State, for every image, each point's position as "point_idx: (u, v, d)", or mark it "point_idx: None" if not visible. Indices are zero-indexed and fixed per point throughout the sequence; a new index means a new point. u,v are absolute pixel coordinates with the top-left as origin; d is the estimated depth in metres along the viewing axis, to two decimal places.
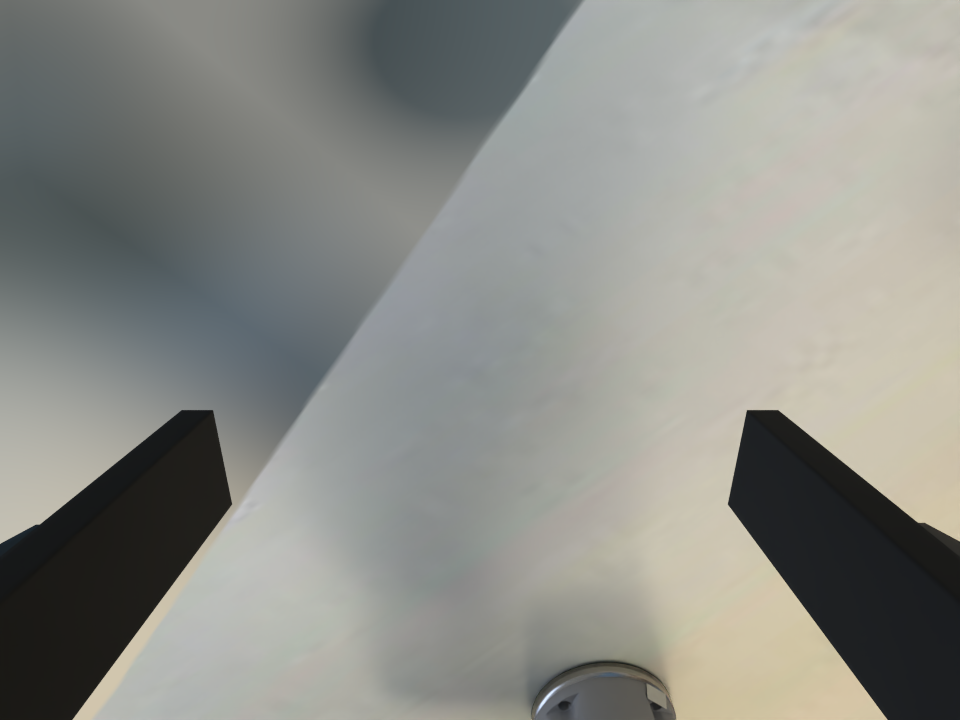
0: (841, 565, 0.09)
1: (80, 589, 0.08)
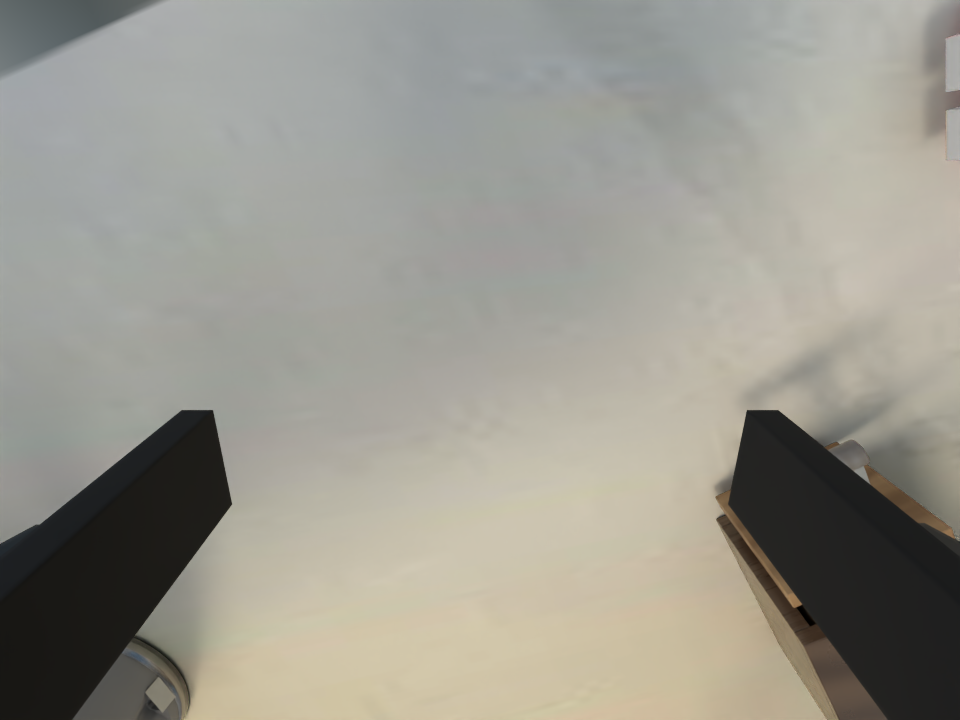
0: (841, 564, 0.09)
1: (80, 589, 0.08)
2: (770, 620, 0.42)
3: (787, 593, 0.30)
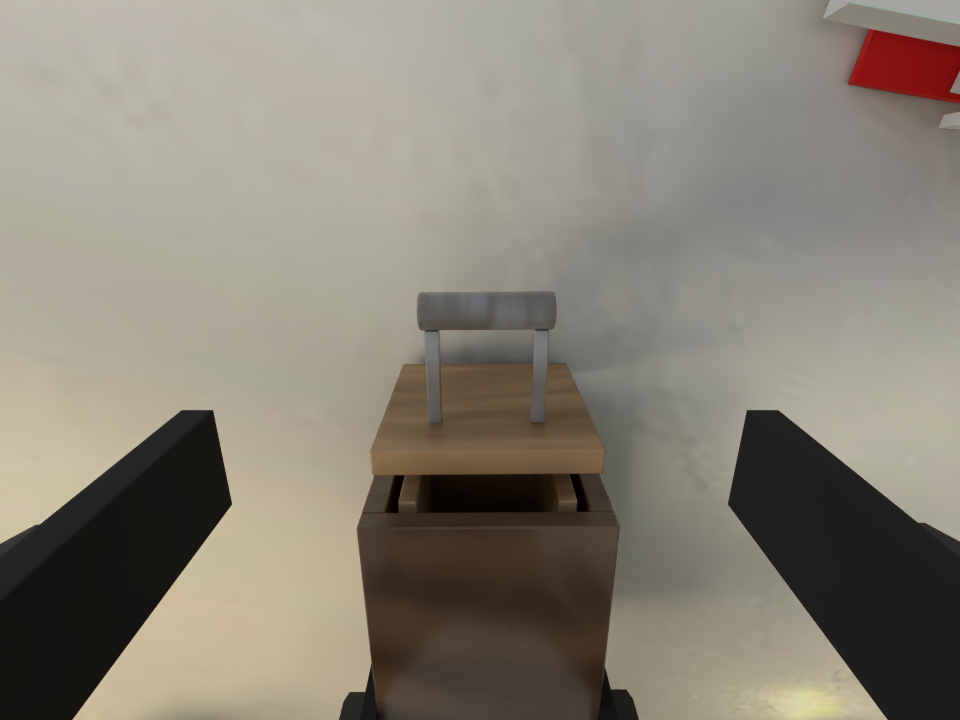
0: (841, 565, 0.09)
1: (80, 589, 0.08)
2: None
3: (372, 449, 0.21)
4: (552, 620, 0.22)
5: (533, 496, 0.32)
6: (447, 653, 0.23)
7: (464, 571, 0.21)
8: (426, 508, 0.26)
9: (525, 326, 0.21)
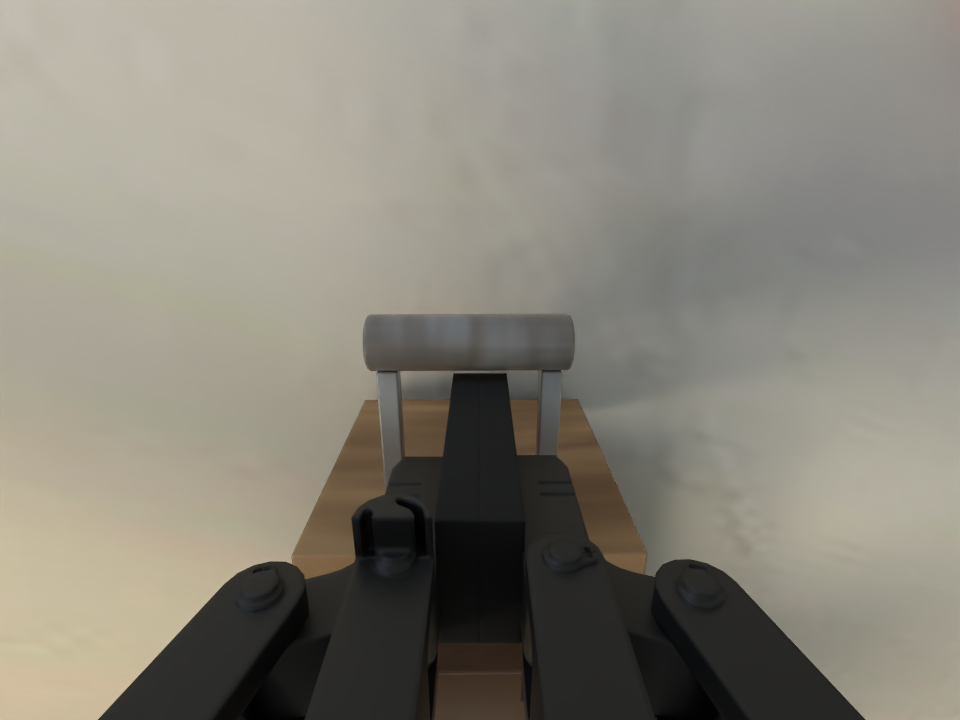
0: None
1: None
2: None
3: (294, 553, 0.14)
4: None
5: None
6: None
7: None
8: None
9: (527, 367, 0.14)
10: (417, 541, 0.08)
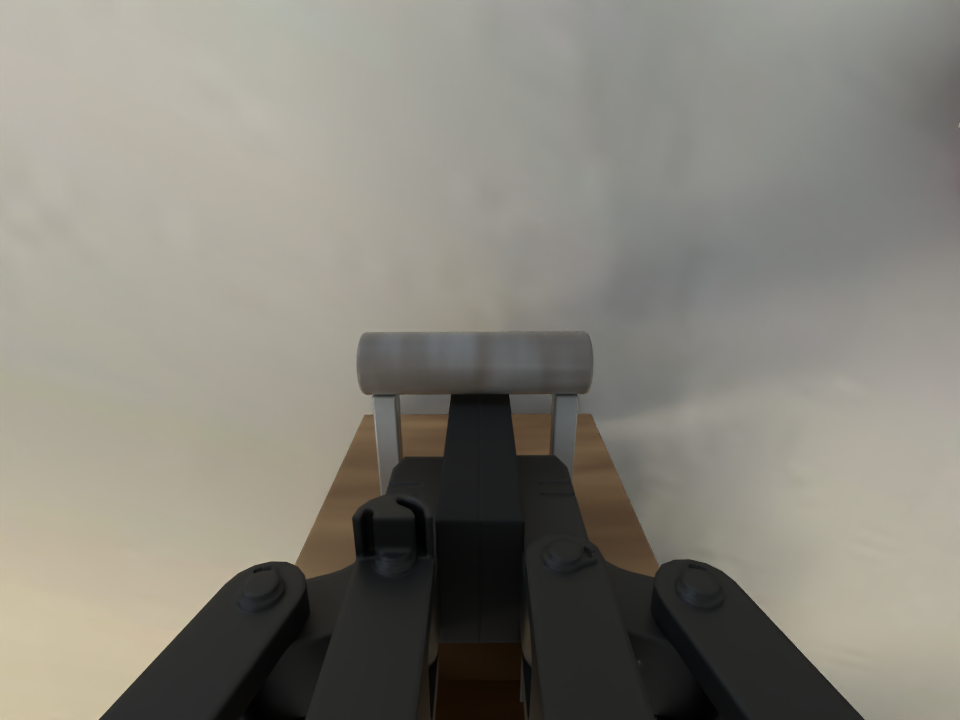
0: None
1: None
2: None
3: None
4: None
5: None
6: None
7: None
8: None
9: (540, 391, 0.12)
10: (417, 541, 0.08)
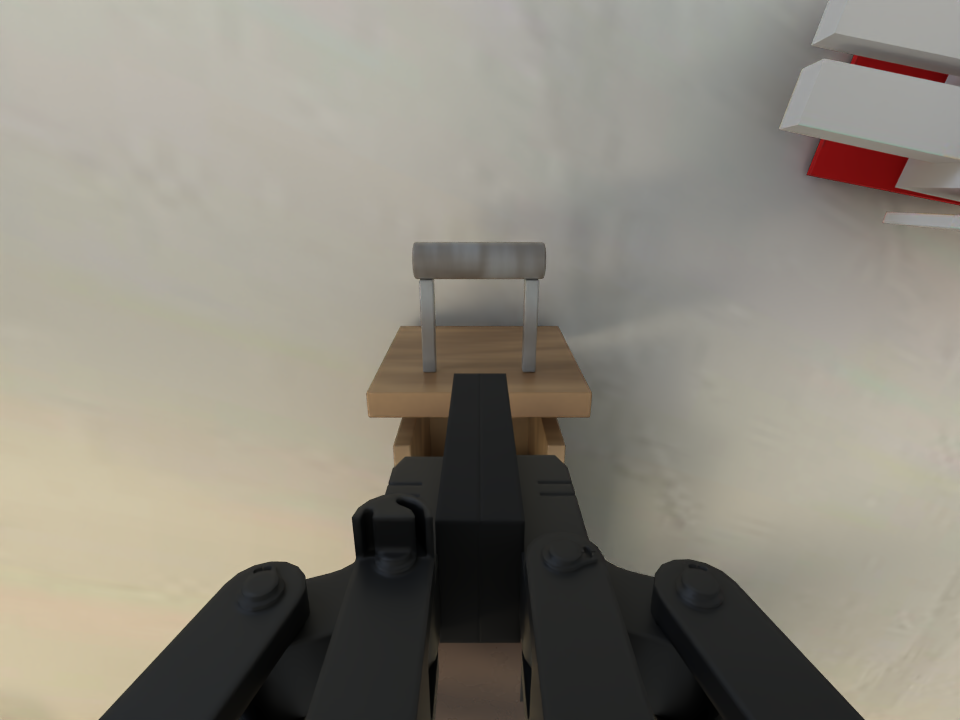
0: None
1: None
2: None
3: (368, 391, 0.22)
4: None
5: None
6: (442, 681, 0.26)
7: None
8: None
9: (516, 275, 0.22)
10: (418, 541, 0.08)
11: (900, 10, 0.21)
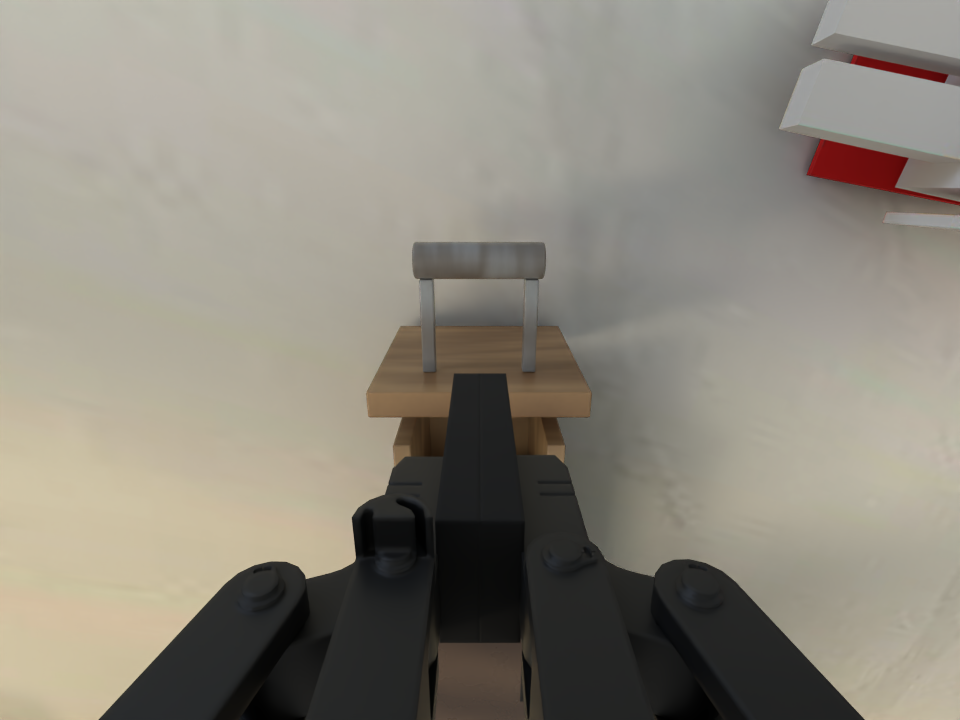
0: None
1: None
2: None
3: (368, 391, 0.22)
4: None
5: None
6: (442, 681, 0.26)
7: None
8: None
9: (516, 275, 0.22)
10: (418, 541, 0.08)
11: (900, 10, 0.21)
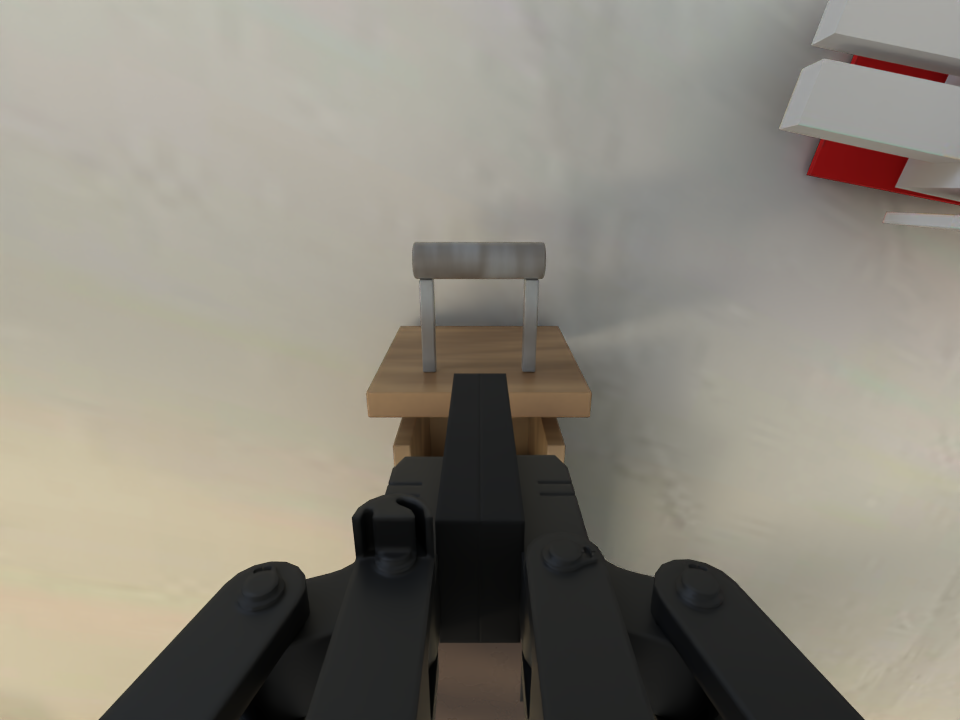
0: None
1: None
2: None
3: (368, 391, 0.22)
4: None
5: None
6: (442, 681, 0.26)
7: None
8: None
9: (516, 275, 0.22)
10: (418, 541, 0.08)
11: (900, 10, 0.21)
